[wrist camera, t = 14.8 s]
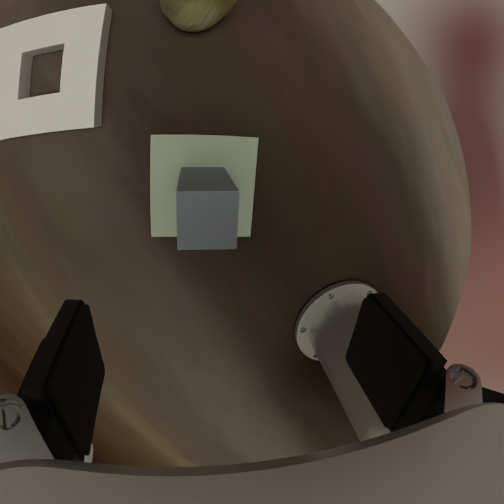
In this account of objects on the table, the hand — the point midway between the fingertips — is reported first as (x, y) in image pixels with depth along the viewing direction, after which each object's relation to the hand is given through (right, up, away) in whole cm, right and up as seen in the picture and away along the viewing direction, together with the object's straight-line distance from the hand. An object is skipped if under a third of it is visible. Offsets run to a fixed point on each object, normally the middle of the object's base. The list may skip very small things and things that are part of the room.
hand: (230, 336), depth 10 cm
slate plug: (-4, +9, +19) cm, 22 cm away
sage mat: (-4, +9, +20) cm, 22 cm away
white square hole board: (-19, +20, +12) cm, 30 cm away
